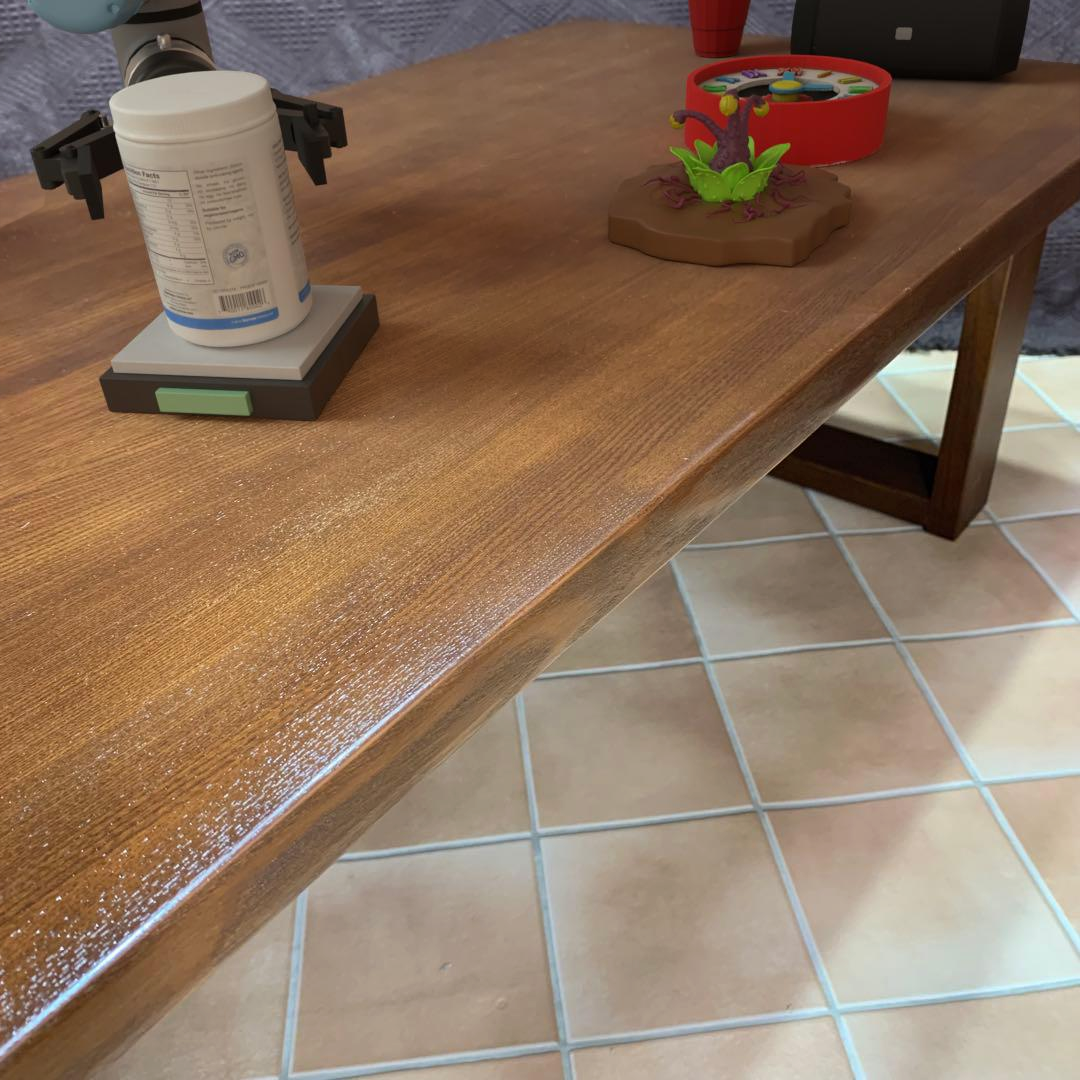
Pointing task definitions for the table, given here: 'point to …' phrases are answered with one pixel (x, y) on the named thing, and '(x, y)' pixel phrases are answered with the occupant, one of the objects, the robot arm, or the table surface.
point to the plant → (728, 199)
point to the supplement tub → (214, 204)
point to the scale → (246, 365)
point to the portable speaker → (915, 35)
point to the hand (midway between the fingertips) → (207, 180)
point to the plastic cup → (717, 26)
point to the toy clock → (797, 105)
